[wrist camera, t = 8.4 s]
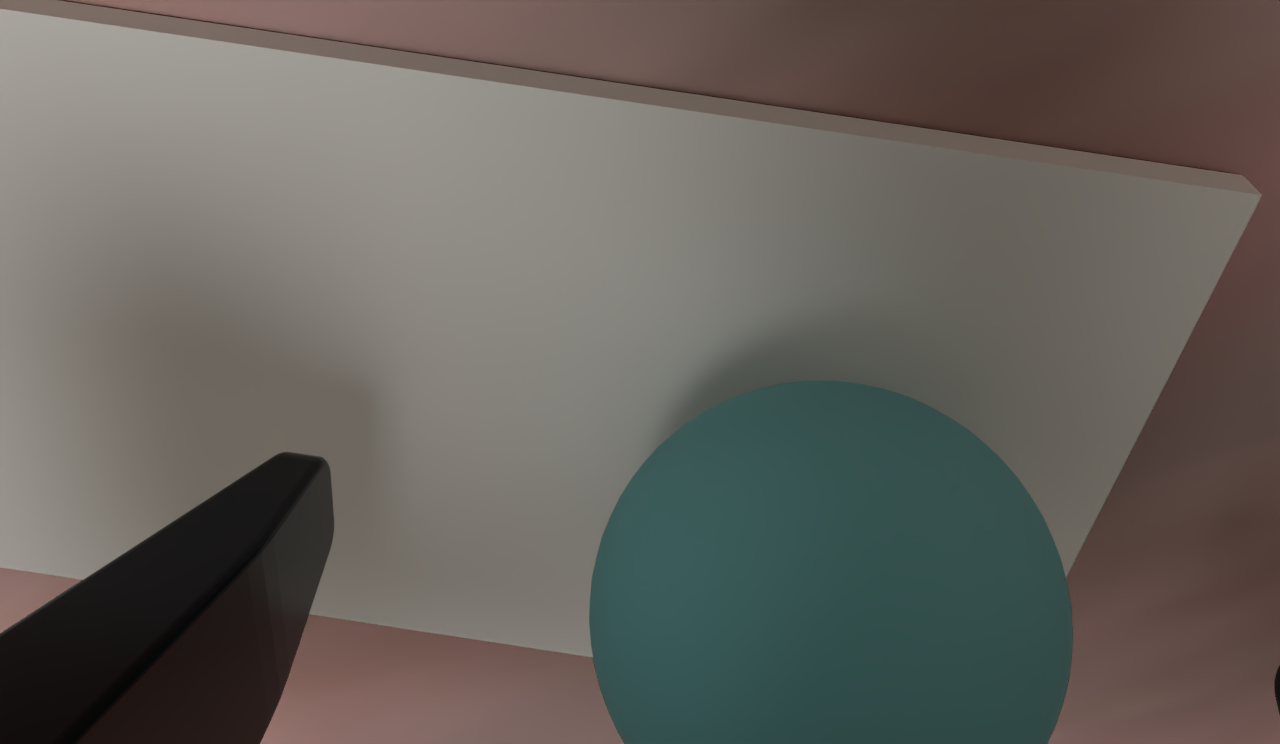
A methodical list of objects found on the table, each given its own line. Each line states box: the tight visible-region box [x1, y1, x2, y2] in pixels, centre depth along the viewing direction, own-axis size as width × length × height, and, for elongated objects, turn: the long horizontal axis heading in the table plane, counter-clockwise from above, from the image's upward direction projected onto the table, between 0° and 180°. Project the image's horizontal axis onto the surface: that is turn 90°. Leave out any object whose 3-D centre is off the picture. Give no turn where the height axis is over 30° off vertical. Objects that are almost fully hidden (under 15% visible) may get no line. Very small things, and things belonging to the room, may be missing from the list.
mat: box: [0, 0, 1262, 657], centre depth 11 cm, size 7×15×1 cm, turn 83°
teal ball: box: [589, 381, 1073, 744], centre depth 9 cm, size 4×4×4 cm
